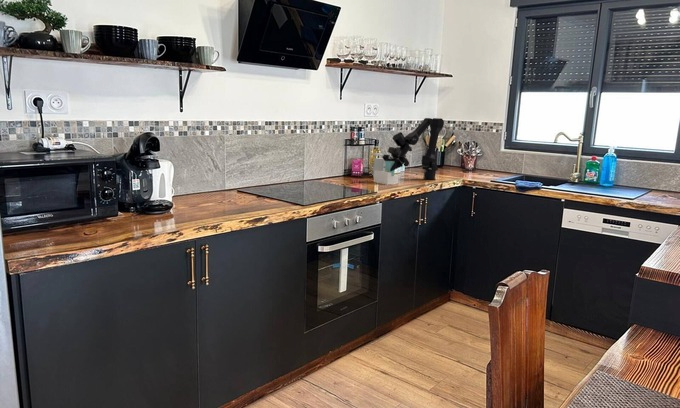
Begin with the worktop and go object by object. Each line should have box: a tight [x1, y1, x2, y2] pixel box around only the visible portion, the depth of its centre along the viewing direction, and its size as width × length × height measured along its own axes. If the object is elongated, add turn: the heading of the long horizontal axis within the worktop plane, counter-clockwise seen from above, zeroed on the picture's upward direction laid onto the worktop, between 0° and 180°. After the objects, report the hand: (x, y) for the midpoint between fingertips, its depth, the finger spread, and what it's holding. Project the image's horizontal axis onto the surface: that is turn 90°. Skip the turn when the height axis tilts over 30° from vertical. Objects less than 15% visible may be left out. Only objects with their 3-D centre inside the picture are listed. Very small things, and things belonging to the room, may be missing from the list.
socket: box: [373, 170, 400, 186], centre depth 305 cm, size 10×12×7 cm
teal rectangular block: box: [385, 161, 395, 176], centre depth 305 cm, size 6×4×12 cm
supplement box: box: [372, 157, 385, 179], centre depth 328 cm, size 7×7×13 cm
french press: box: [370, 137, 383, 176], centre depth 340 cm, size 10×12×25 cm
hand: (387, 170), depth 305 cm, fingers closed on teal rectangular block, 4 cm apart
